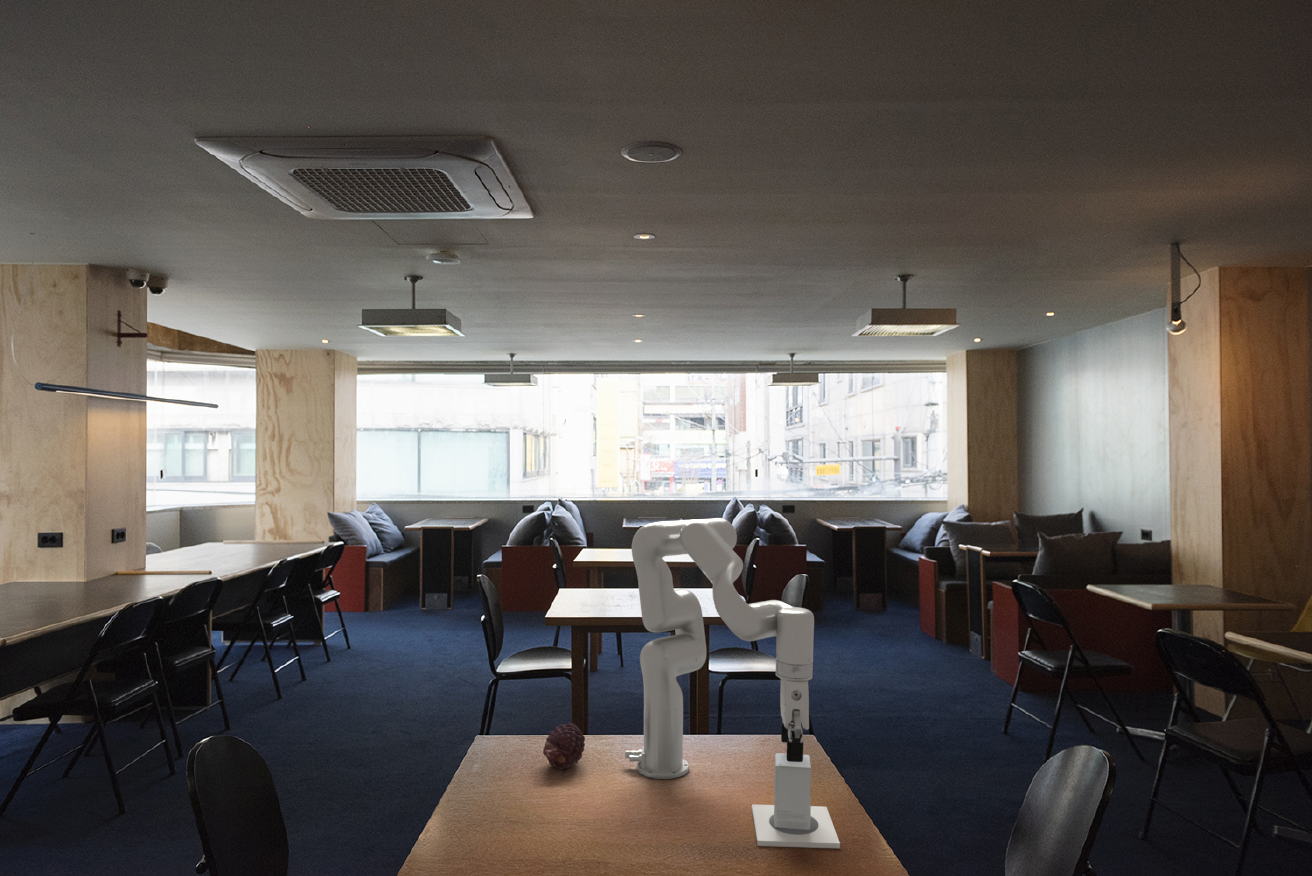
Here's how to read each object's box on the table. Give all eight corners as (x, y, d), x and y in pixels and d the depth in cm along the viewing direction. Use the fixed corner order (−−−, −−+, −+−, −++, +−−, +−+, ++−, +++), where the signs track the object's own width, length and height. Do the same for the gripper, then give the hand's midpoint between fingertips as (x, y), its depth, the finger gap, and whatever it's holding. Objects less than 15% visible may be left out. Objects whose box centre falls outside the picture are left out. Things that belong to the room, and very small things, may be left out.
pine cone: (556, 750, 205) (556, 711, 205) (593, 753, 203) (594, 713, 203) (534, 778, 187) (535, 735, 187) (575, 781, 186) (575, 738, 186)
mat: (757, 846, 156) (757, 840, 156) (751, 809, 172) (751, 804, 172) (839, 848, 155) (839, 843, 155) (826, 811, 171) (826, 806, 171)
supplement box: (811, 831, 160) (811, 768, 160) (773, 828, 161) (774, 765, 161) (809, 814, 167) (810, 754, 167) (774, 812, 168) (774, 751, 169)
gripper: (818, 682, 155) (816, 770, 155) (806, 657, 173) (804, 736, 173) (780, 681, 156) (777, 768, 156) (771, 656, 173) (769, 734, 173)
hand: (791, 751), depth 164 cm, fingers open, 9 cm apart
